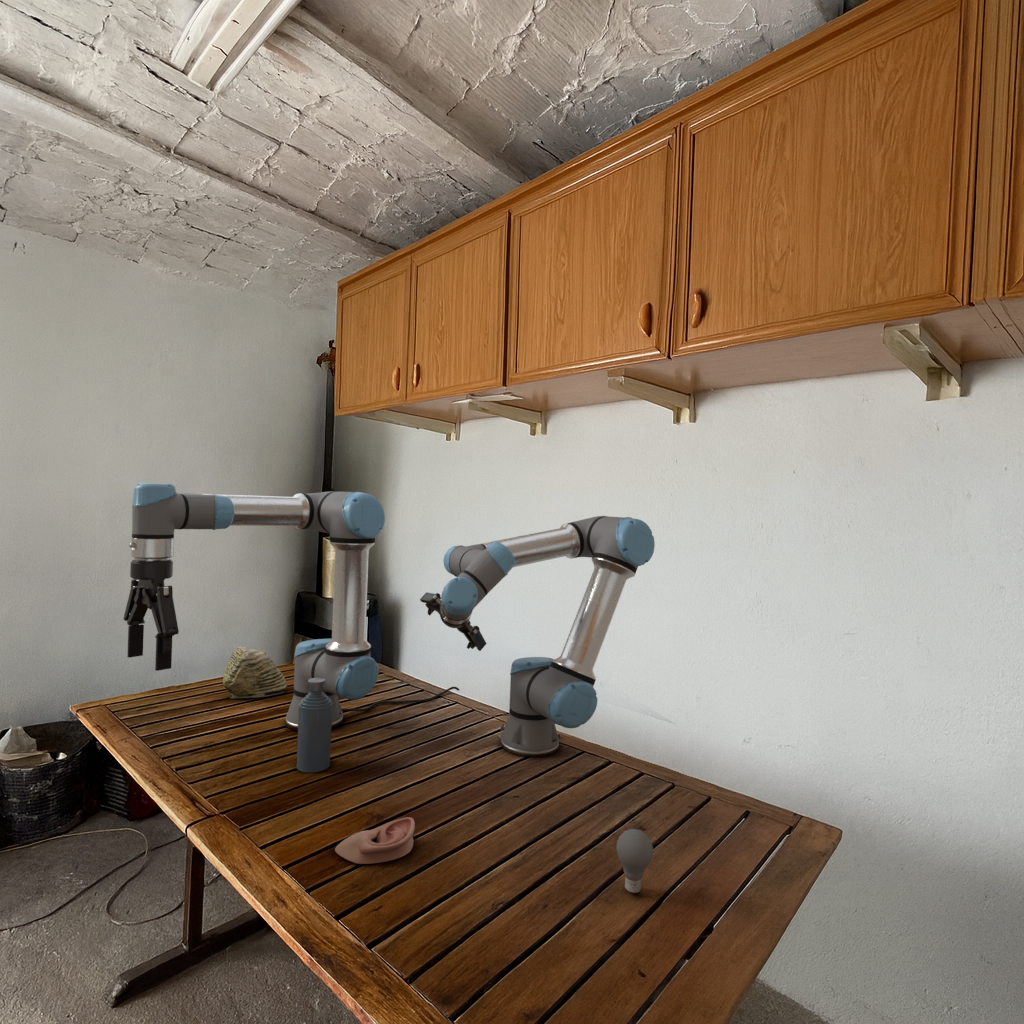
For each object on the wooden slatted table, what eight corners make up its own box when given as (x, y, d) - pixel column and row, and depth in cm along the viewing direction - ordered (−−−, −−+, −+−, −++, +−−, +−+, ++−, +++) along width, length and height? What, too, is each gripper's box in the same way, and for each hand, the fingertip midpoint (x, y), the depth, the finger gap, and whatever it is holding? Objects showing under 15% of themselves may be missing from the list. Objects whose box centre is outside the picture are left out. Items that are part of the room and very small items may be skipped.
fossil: (218, 695, 195) (220, 647, 195) (278, 685, 208) (279, 640, 207) (228, 703, 189) (230, 653, 188) (289, 692, 201) (290, 645, 201)
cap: (326, 690, 147) (326, 681, 147) (308, 692, 146) (308, 683, 146) (323, 685, 151) (324, 677, 151) (306, 687, 149) (306, 678, 149)
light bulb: (610, 879, 108) (613, 822, 108) (644, 879, 109) (647, 822, 109) (619, 902, 102) (622, 840, 102) (655, 901, 103) (658, 840, 103)
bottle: (332, 769, 147) (335, 684, 147) (298, 774, 144) (301, 687, 143) (327, 757, 154) (330, 676, 153) (294, 761, 151) (297, 678, 150)
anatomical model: (327, 836, 111) (356, 806, 122) (326, 858, 111) (355, 826, 122) (398, 848, 108) (421, 815, 119) (397, 871, 108) (420, 836, 119)
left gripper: (108, 554, 134) (104, 654, 134) (159, 565, 118) (155, 678, 119) (146, 552, 140) (143, 648, 140) (199, 563, 124) (195, 671, 124)
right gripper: (405, 587, 149) (406, 607, 168) (486, 656, 145) (478, 669, 165) (426, 564, 152) (425, 587, 171) (507, 631, 148) (496, 647, 168)
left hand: (148, 662), depth 129 cm, fingers open, 13 cm apart
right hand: (451, 627), depth 168 cm, fingers open, 13 cm apart
